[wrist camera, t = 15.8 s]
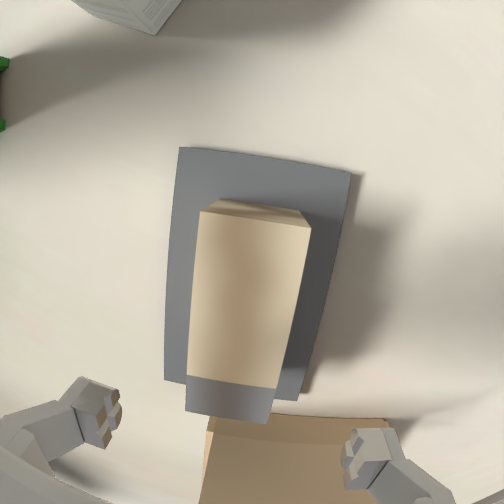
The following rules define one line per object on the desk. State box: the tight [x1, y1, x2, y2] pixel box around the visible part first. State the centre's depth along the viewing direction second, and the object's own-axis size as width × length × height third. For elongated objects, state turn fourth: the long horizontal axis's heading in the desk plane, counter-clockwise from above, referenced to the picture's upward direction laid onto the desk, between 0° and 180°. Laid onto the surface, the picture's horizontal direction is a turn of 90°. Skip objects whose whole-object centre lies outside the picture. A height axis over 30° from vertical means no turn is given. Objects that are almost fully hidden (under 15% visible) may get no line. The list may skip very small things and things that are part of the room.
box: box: [185, 199, 311, 424], centre depth 18 cm, size 5×12×6 cm, turn 172°
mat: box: [164, 147, 351, 401], centre depth 22 cm, size 11×18×1 cm, turn 172°
